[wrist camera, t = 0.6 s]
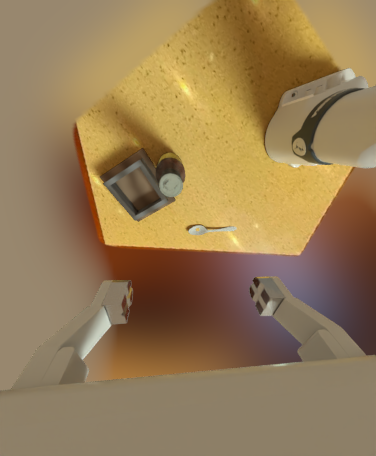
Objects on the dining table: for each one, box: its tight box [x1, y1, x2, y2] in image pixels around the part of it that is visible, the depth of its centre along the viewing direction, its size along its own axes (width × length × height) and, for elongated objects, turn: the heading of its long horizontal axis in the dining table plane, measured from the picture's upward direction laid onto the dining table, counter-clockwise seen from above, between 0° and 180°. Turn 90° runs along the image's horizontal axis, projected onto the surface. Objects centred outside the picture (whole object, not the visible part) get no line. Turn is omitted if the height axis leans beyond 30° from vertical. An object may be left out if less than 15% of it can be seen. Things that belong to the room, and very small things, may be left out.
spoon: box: [188, 225, 236, 235], centre depth 53 cm, size 4×21×2 cm, turn 89°
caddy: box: [100, 148, 175, 221], centre depth 41 cm, size 14×16×5 cm
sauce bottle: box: [155, 153, 185, 197], centre depth 32 cm, size 6×6×20 cm
